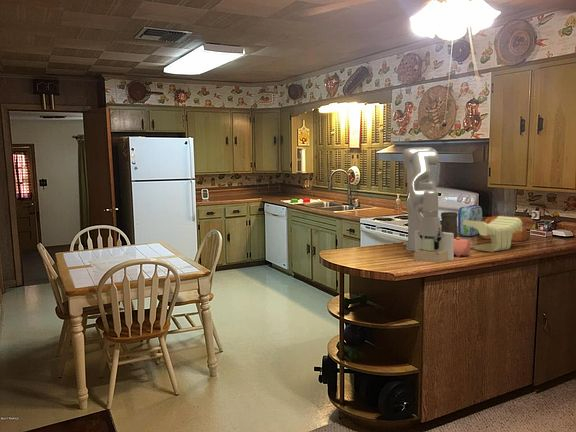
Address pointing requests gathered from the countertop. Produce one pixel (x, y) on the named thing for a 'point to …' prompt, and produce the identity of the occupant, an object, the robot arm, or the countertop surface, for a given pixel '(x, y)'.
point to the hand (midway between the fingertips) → (430, 248)
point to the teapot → (461, 247)
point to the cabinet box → (428, 244)
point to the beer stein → (449, 223)
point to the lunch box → (469, 214)
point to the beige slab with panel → (438, 255)
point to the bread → (515, 236)
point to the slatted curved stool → (496, 232)
